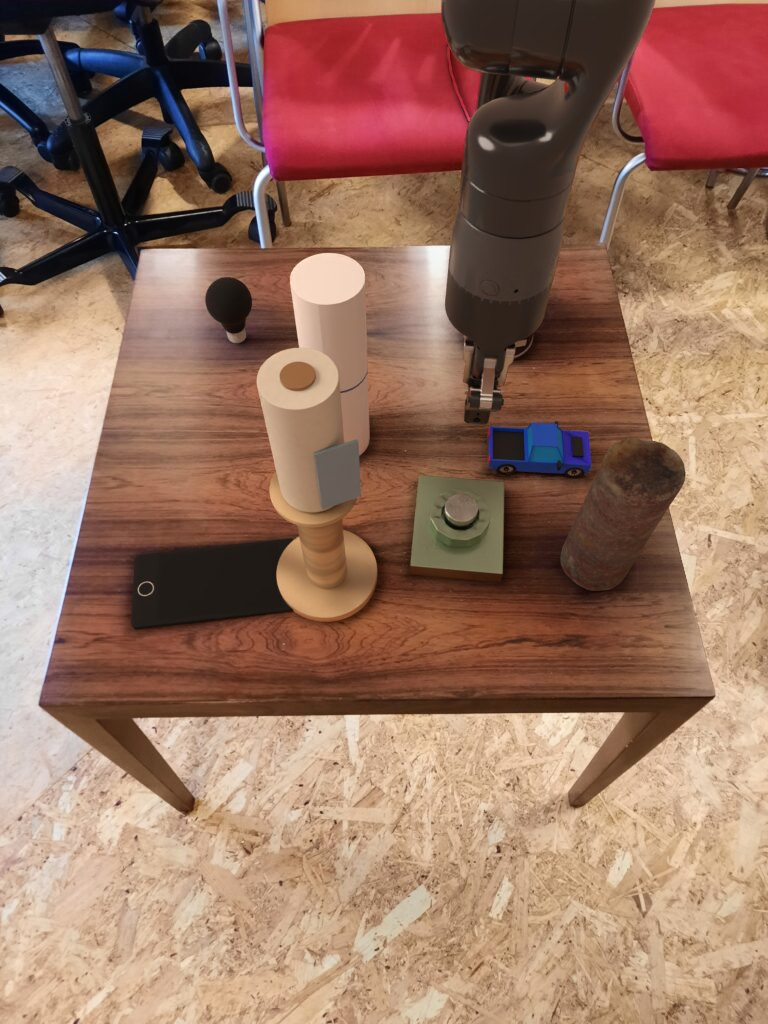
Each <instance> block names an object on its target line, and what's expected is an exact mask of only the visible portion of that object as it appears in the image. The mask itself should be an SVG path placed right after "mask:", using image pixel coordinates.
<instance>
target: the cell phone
mask: <svg viewBox="0 0 768 1024" xmlns="http://www.w3.org/2000/svg"><path fill="white" fill-rule="evenodd" d="M295 539H296V538H292V537H289V538H280V539H279V538H278V539H269V540H260V541H250V542H242V543H241V542H240V543H233V544H223V545H215V546H205V547H195V548H185V549H177V550H167V551H158V552H150V553H149V552H148V553H141V554H137V555H136V556H135V559H134V565H133V567H134V568H133V583H132V598H131V600H132V601H131V602H132V603H131V617H130V623H131V624H130V625H131V627H132V629H134V630H145V629H153V628H163V627H170V626H180V625H181V626H182V625H188V624H189V625H190V624H198V623H206V622H214V621H225V620H233V619H241V618H242V619H243V618H251V617H260V616H266V615H274V614H282V613H291V612H294V611H293V609H292V608H291V607H290V606H289V605H288V604H287V603H286V602H285V600H284V599H283V597H282V595H281V593H280V590H279V587H278V584H277V566H278V562H279V559H280V557H281V555H282V553H283V552H284V550H285V549H286V548H287V546H288V545H289V544H290V543H291V542H292V541H293V540H295Z"/></svg>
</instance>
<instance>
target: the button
mask: <svg viewBox="0 0 768 1024" xmlns="http://www.w3.org/2000/svg"><path fill="white" fill-rule="evenodd" d="M477 513H478V505H477V503H476V501H475V500H474V499H473V498H472V497H470V496H469V495H466V494H455V495H453V496H451V497H450V498H449V499H448V500H447V501H446V503H445V509H444V519H445V521H446V522H447V524H448V525H449V526H451V527H453V528H455V529H461V530H462V529H467V528H469V527H471V526H472V525H473V524H474V523H475V521H476V518H477Z"/></svg>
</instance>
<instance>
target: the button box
mask: <svg viewBox="0 0 768 1024" xmlns="http://www.w3.org/2000/svg"><path fill="white" fill-rule="evenodd" d="M416 485H417V487H416V495H415V497H416V498H415V508H414V519H413V531H412V542H411V550H410V551H411V552H410V563H409V575H410V576H421V577H431V578H444V579H456V580H464V581H465V580H466V581H478V582H490V583H498V584H499V583H501V581H502V579H503V575H504V542H505V541H504V537H505V535H504V534H505V533H504V531H505V530H504V529H505V481H502V480H500V481H499V480H487V479H477V478H476V479H475V478H462V477H452V476H451V477H450V476H439V475H438V476H437V475H426V474H418V475H417V484H416ZM455 494H466V495H469V496H470V497H472V498H473V499H474V500H475V501H476V503H477V505H478V513H477V518H476V521H475V523H474V524H473V525H472V526H471V527H469V528H467V529H462V530H461V529H455V528H453V527H451V526H449V525H448V524H447V522H446V521H445V519H444V509H445V503H446V501H447V500H448V499H449V498H450V497H451V496H453V495H455Z"/></svg>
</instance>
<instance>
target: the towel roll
mask: <svg viewBox="0 0 768 1024" xmlns="http://www.w3.org/2000/svg"><path fill="white" fill-rule="evenodd" d="M256 387H257V392H258V396H259V400H260V405H261V410H262V414H263V419H264V422H265V427H266V432H267V437H268V441H269V445H270V446H269V447H270V450H271V455H272V457H273V458H272V459H273V464H274V468H275V471H276V473H277V477H278V481H279V486H280V490H281V494H282V496H283V498H284V499H285V501H286V502H287V503H288V504H289V505H291V506H292V507H294V508H295V509H298V510H300V511H304V512H320V511H324V510H327V509H329V508H331V507H333V506H335V505H338V504H341V503H344V502H346V501H349V500H352V499H355V498H357V499H358V498H361V497H362V485H361V483H362V482H361V466H360V456H359V444H358V439H355V440H352V441H349V442H346V443H344V433H343V420H342V408H341V395H340V383H339V373H338V369H337V367H336V365H335V363H334V362H333V361H332V360H331V359H330V358H329V357H328V356H327V355H325V354H324V353H322V352H320V351H317V350H314V349H310V348H299V347H292V348H286V349H283V350H280V351H278V352H276V353H274V354H273V355H271V356H270V357H268V358H267V359H266V360H265V361H264V362H263V363H262V365H261V366H260V368H259V370H258V372H257V375H256Z"/></svg>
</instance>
